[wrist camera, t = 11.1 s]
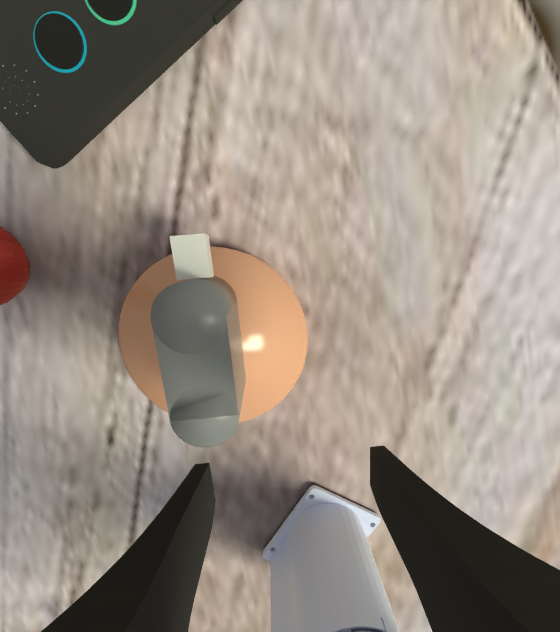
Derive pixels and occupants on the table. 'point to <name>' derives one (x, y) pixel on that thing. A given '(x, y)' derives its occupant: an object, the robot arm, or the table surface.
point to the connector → (199, 346)
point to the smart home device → (87, 63)
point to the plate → (255, 325)
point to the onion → (12, 267)
